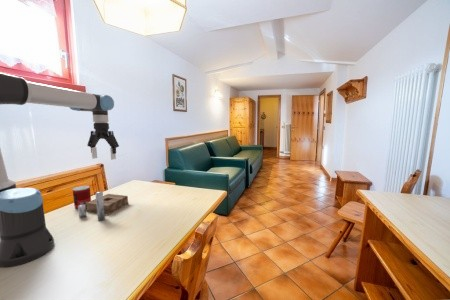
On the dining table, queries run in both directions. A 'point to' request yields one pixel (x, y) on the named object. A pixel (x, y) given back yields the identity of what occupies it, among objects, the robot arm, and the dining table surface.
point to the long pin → (100, 206)
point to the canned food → (81, 195)
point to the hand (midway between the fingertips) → (104, 158)
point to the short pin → (82, 211)
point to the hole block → (109, 203)
